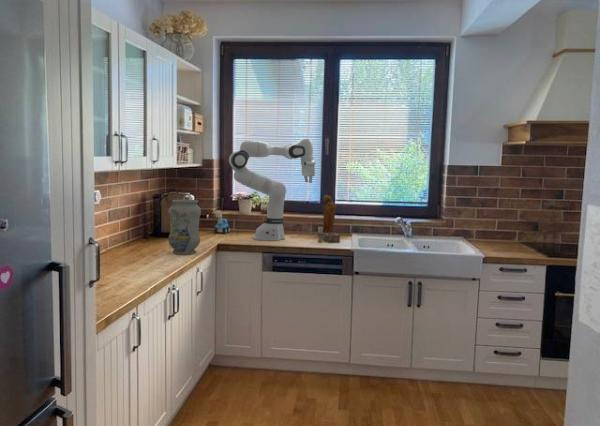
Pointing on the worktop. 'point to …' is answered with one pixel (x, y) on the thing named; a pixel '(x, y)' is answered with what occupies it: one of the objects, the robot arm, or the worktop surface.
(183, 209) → the vase
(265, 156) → the robot arm
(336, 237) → the walnut seat board
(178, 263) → the worktop surface
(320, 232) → the beech peg
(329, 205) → the sculpture
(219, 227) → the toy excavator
